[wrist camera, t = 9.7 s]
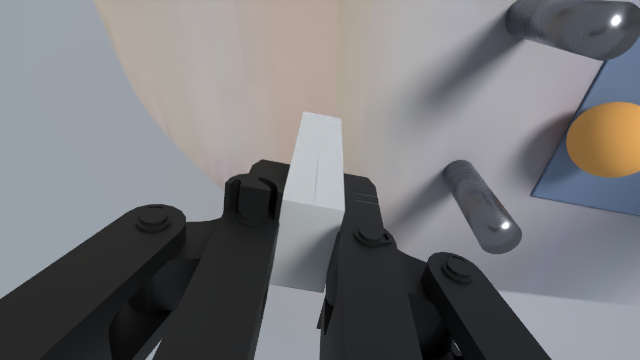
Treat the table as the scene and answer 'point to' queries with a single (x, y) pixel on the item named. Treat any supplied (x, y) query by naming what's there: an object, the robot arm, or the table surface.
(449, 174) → the post
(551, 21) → the post
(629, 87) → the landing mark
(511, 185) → the table surface
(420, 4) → the table surface
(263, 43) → the table surface
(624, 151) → the ball
